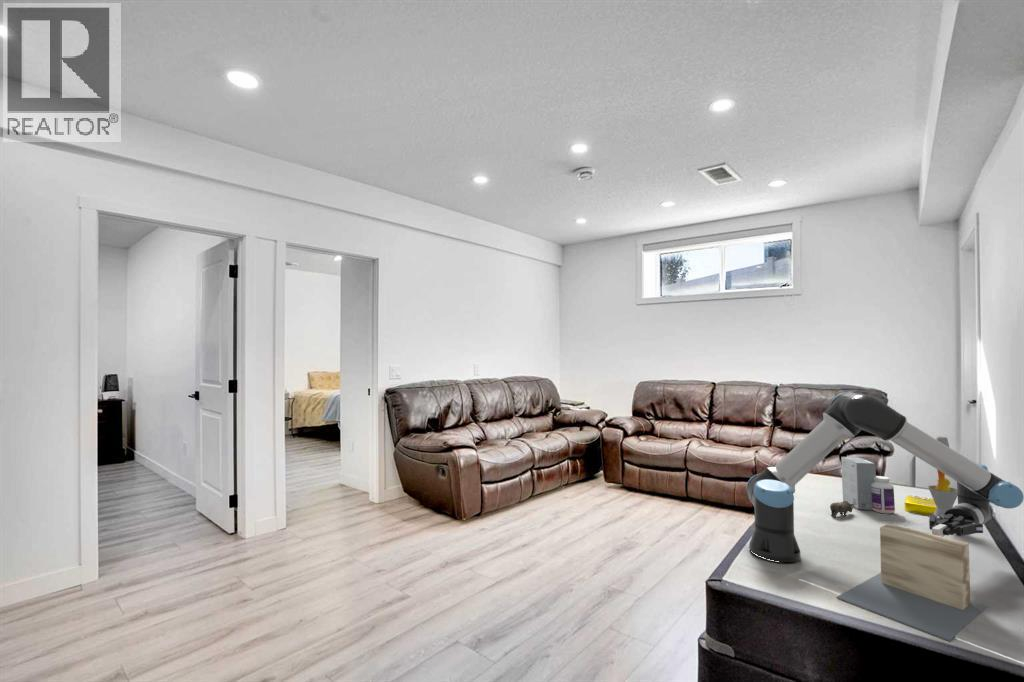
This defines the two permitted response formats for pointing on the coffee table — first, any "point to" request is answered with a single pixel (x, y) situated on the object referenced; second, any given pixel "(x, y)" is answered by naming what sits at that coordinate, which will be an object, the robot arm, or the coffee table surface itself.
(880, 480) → the pill bottle
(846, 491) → the hard drive box
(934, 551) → the birch slab
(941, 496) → the lava lamp
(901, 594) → the slate mat
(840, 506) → the bison figurine
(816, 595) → the coffee table surface
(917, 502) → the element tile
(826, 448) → the robot arm
